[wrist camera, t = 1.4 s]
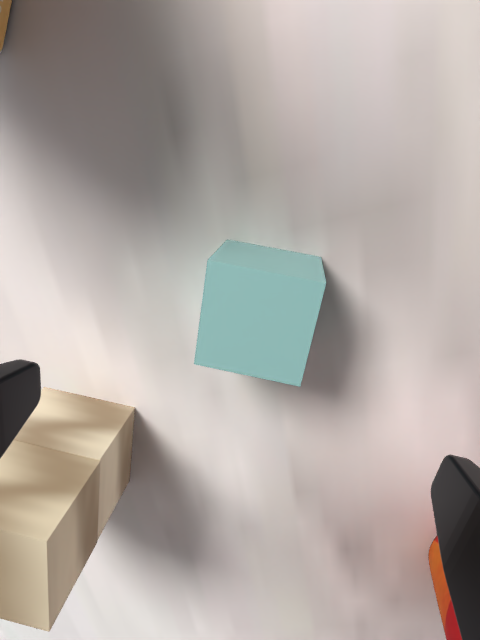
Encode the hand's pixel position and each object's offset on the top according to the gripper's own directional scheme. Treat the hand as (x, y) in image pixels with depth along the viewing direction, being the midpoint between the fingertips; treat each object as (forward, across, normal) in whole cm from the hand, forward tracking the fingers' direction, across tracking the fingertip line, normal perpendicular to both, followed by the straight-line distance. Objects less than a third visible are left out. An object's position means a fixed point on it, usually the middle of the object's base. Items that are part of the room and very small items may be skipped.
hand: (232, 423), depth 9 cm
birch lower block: (+10, +8, +10) cm, 16 cm away
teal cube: (+10, 0, 0) cm, 10 cm away
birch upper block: (+6, +8, +10) cm, 14 cm away
